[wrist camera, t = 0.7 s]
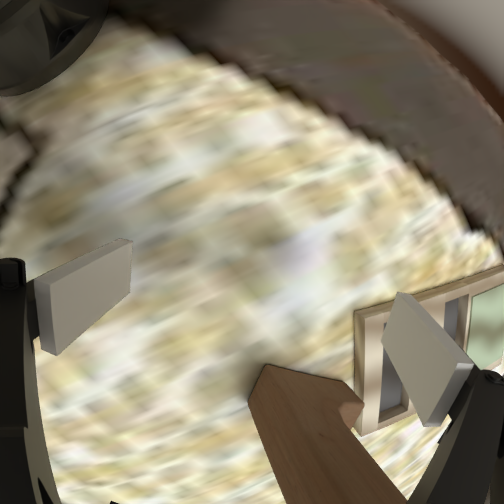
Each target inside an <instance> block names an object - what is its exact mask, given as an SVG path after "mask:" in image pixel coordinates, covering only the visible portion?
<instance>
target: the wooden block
mask: <svg viewBox="0 0 504 504" xmlns="http://www.w3.org/2000/svg"><path fill="white" fill-rule="evenodd" d="M248 406H249V409H250V411H251V414H252V417H253V420H254V422H255V425H256V428H257V430H258V433H259V436H260V438H261V441H262V444H263V446H264V449H265V451H266V454H267V456H268V459H269V462H270V464H271V467H272V469H273V472H274V474H275V477H276V479H277V482H278V484H279V487H280V489H281V491H282V494H283V496H284V499H285V501H286V504H406V503H407V499H406V498H405V497H404V496H403V495H402V493H401V492H400V491H399V490H398V489H397V487H396V486H395V485H394V484H393V483H392V481H391V480H390V479H389V478H388V476H387V475H386V474H385V473H384V472H383V470H382V469H381V468H380V467H379V465H378V464H377V463H376V462H375V460H374V459H373V458H372V457H371V456H370V454H369V453H368V452H367V451H366V449H365V448H364V447H363V446H362V444H361V443H360V442H359V441H358V439H357V438H356V437H355V435H354V434H353V433H352V432H351V428H352V427H353V425H354V423H355V422H356V420H357V418H358V417H359V415H360V413H361V412H362V410H363V408H364V406H365V403H364V402H363V401H362V400H361V399H360V398H359V397H358V396H357V395H356V394H355V393H354V391H353V390H352V389H351V388H350V387H349V386H348V385H347V384H346V383H345V382H340V381H335V380H331V379H326V378H321V377H317V376H312V375H308V374H304V373H299V372H295V371H291V370H287V369H283V368H279V367H275V366H271V365H265V367H264V368H263V371H262V373H261V375H260V377H259V379H258V381H257V383H256V385H255V388H254V390H253V392H252V394H251V396H250V398H249V400H248Z"/></svg>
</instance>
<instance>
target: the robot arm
mask: <svg viewBox="0 0 504 504" xmlns="http://www.w3.org/2000/svg"><path fill="white" fill-rule="evenodd" d="M108 6H109V0H0V96H14V95H18V94H22V93H25V92H28V91H31V90H33V89H35V88H37V87H39V86H41V85H43V84H45V83H47V82H48V81H50V80H51V79H53V78H54V77H56V76H57V75H59V74H60V73H61V72H63V71H64V70H65V69H66V68H68V67H69V66H70V65H71V64H72V63H73V62H74V61H75V60H76V59H77V58H78V57H79V56H80V55H81V54H82V53H83V52H84V51H85V50H86V48H87V47H88V46H89V45H90V43H91V42H92V41H93V39H94V38H95V37H96V35H97V33H98V32H99V30H100V28H101V26H102V24H103V22H104V20H105V17H106V14H107V11H108ZM132 247H133V241H129V240H125V239H117V240H115V241H113V242H111V243H108V244H106V245H104V246H102V247H100V248H98V249H95V250H93V251H91V252H89V253H87V254H85V255H82V256H80V257H78V258H76V259H74V260H72V261H70V262H68V263H66V264H64V265H62V266H59V267H57V268H55V269H53V270H51V271H49V272H47V273H45V274H43V275H41V276H39V277H37V278H35V279H33V280H31V281H29V282H27V283H26V270H25V262H24V261H23V260H22V259H18V258H3V259H0V504H62V503H61V501H60V498H59V495H58V492H57V488H56V485H55V481H54V477H53V473H52V469H51V465H50V461H49V456H48V451H47V447H46V442H45V436H44V431H43V425H42V419H41V412H40V405H39V397H38V388H37V378H36V366H35V350H34V343H33V340H34V339H35V338H37V337H38V336H39V337H40V344H41V349H42V350H44V351H46V352H49V353H51V354H53V355H55V356H58V355H59V354H60V353H61V352H62V351H63V350H64V349H65V348H67V347H68V346H69V345H70V344H71V343H72V342H73V341H74V340H76V339H77V338H78V337H79V336H80V335H81V334H82V333H84V332H85V331H86V330H87V329H88V328H89V327H90V326H92V325H93V324H94V323H95V322H96V321H97V320H98V319H100V318H101V317H102V316H103V315H104V314H105V313H107V312H108V311H109V310H110V309H111V308H112V307H114V306H115V305H116V304H117V303H118V302H120V301H121V300H122V299H123V298H124V297H125V296H127V295H128V294H129V293H130V278H131V261H132ZM381 343H382V345H383V347H384V349H385V350H386V352H387V354H388V356H389V358H390V360H391V362H392V364H393V366H394V368H395V370H396V372H397V374H398V375H399V377H400V379H401V381H402V383H403V385H404V387H405V389H406V391H407V393H408V395H409V397H410V400H411V402H412V404H413V406H414V408H415V410H416V412H417V414H418V416H419V418H420V420H421V422H422V425H423V427H438V426H441V424H442V422H443V421H444V419H445V418H446V416H447V414H449V416H450V418H451V419H452V421H451V422H450V424H449V425H448V427H447V429H446V430H445V432H444V433H443V435H442V436H441V438H440V439H439V441H438V442H437V443H439V446H438V448H437V450H436V452H435V454H434V456H433V458H432V459H431V461H430V463H429V465H428V467H427V469H426V471H425V472H424V474H423V476H422V478H421V480H420V481H419V483H418V485H417V486H416V488H415V490H414V491H413V493H412V495H411V496H410V498H409V500H408V501H407V503H406V504H484V502H485V499H486V496H487V492H488V489H489V485H490V504H504V378H503V377H502V376H501V375H500V374H498V373H497V372H495V371H491V370H486V369H483V370H480V369H479V368H478V366H477V365H476V364H475V363H474V362H473V361H472V359H471V358H469V356H468V355H467V354H466V353H465V351H464V350H463V349H462V348H461V347H460V346H459V345H458V344H456V342H455V341H454V340H453V339H452V338H451V337H450V336H449V335H448V334H447V332H446V331H445V330H444V329H443V328H442V327H441V326H440V325H439V324H438V323H437V322H436V321H435V319H434V318H433V317H432V316H431V315H430V314H429V313H428V312H427V311H426V310H425V309H424V308H423V307H422V306H421V305H420V304H419V303H418V302H417V300H416V299H415V298H414V297H413V296H412V295H411V294H407V293H402V292H397V294H396V297H395V300H394V303H393V306H392V309H391V312H390V315H389V318H388V321H387V324H386V327H385V330H384V333H383V335H382V338H381ZM110 504H118V503H116V502H113V501H111V502H110Z"/></svg>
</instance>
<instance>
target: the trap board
mask: <svg viewBox="0 0 504 504" xmlns="http://www.w3.org/2000/svg"><path fill="white" fill-rule="evenodd" d="M412 296H413V297H414V298H415V299H416V300H417V302H418V303H419V304H420V305H421V306H422V307H423V308H424V309H425V310H426V311H427V312H428V313H429V314H430V315H431V316H432V317H433V318H434V319H435V321H436V322H437V323H438V324H439V325H440V326H441V327H442V328H443V329H444V330H445V331H446V332H447V334H448V335H449V336H450V337H451V338H452V339H453V340H454V341H455V342H456V344H458V345H459V346H460V347H461V348H462V349H463V350H464V351H465V353H466V354H467V355H468V356H469V358H471V359H472V361H473V362H474V363H475V364H476V365H477V366H478V368H479V369H480V370H483V369H486V370H492V369H494V368H495V367H497V366H498V365H500V364H501V361H502V356H503V351H504V265H501V266H498V267H495V268H492V269H490V270H487V271H484V272H481V273H479V274H476V275H473V276H470V277H467V278H464V279H461V280H458V281H455V282H452V283H449V284H446V285H443V286H440V287H437V288H434V289H431V290H428V291H424V292H421V293H418V294H415V295H412ZM393 303H394V301H391V302H387V303H384V304H380V305H377V306H373V307H369V308H366V309H362V310H358V311H355V312H354V331H355V384H354V393H355V394H356V395H357V396H358V397H359V398H360V399H361V400H362V401H363V402H364V403H365V406H364V408H363V410H362V412H361V413H360V415H359V417H358V418H357V420H356V422H355V423H354V425H353V427H354V429H355V430H356V431H357V432H358V434H359V435H360V436H361V437H362V436H364V435H367V434H369V433H372V432H374V431H377V430H379V429H382V428H384V427H386V426H389V425H391V424H393V423H395V422H398V421H400V420H402V419H404V418H406V417H408V416H411V415H413V414H415V413H417V412H416V410H415V408H414V406H413V404H412V402H411V400H410V397H409V395H408V393H407V391H406V389H405V387H404V385H403V383H402V381H401V379H400V377H399V375H398V374H397V372H396V370H395V368H394V366H393V364H392V362H391V360H390V358H389V356H388V354H387V352H386V350H385V349H384V347H383V345H382V343H381V338H382V335H383V333H384V330H385V327H386V324H387V321H388V318H389V315H390V312H391V309H392V306H393Z"/></svg>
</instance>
